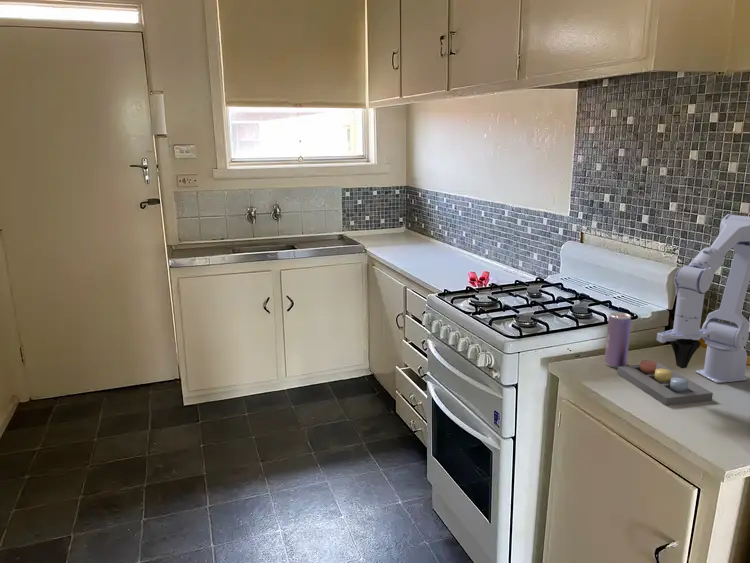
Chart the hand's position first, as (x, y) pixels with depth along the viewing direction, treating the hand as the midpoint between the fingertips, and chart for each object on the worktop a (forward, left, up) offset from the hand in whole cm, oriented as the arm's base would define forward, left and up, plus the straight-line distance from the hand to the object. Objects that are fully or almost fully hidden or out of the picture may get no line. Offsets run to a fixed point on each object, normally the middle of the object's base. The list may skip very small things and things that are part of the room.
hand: (681, 366), depth 143 cm
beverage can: (+3, -22, -8) cm, 24 cm away
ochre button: (0, -6, -6) cm, 8 cm away
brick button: (0, -12, -6) cm, 13 cm away
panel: (0, -6, -8) cm, 10 cm away
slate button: (0, 0, -6) cm, 6 cm away
